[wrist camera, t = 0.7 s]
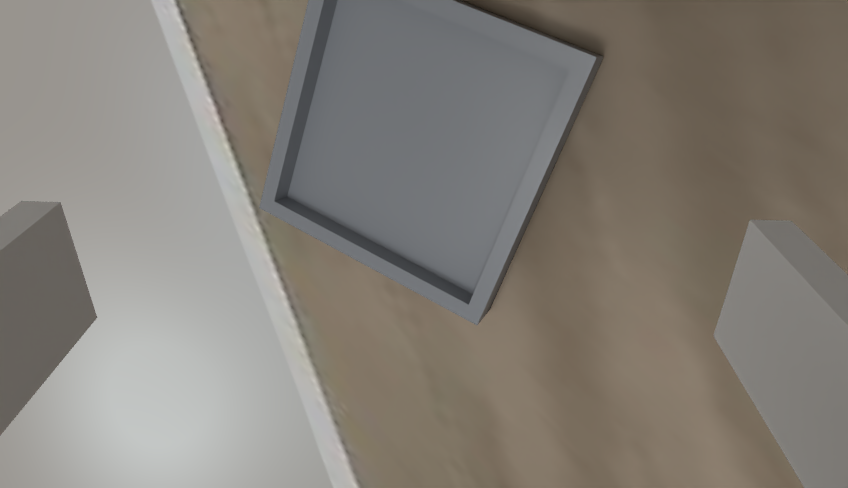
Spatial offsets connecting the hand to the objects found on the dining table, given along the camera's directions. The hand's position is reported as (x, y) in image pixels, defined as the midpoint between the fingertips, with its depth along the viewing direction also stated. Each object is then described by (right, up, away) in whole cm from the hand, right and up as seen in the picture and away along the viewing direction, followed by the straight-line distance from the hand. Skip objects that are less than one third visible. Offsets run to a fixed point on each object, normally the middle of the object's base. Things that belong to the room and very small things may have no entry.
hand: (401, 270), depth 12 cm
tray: (0, +7, +27) cm, 28 cm away
